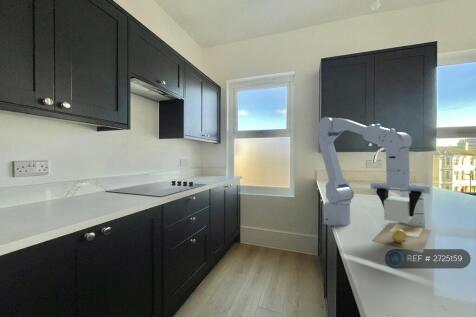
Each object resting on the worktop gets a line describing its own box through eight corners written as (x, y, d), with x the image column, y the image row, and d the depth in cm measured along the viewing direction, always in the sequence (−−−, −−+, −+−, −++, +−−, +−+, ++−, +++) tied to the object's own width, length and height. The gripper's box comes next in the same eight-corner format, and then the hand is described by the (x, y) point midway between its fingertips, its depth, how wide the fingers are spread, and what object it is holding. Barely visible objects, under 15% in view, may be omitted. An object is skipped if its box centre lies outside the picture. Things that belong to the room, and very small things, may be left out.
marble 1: (393, 238, 65) (393, 229, 65) (395, 236, 67) (395, 227, 67) (405, 241, 63) (405, 231, 63) (407, 238, 65) (407, 229, 65)
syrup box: (425, 227, 77) (424, 189, 77) (408, 226, 79) (407, 189, 78) (416, 222, 83) (415, 186, 83) (399, 221, 84) (398, 186, 84)
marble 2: (390, 242, 63) (390, 232, 63) (393, 239, 65) (392, 230, 65) (403, 245, 61) (403, 235, 60) (405, 242, 63) (404, 232, 63)
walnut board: (371, 243, 64) (371, 240, 64) (389, 225, 80) (389, 222, 80) (422, 256, 55) (422, 252, 55) (431, 232, 72) (431, 229, 72)
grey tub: (384, 219, 63) (383, 200, 63) (391, 213, 69) (390, 196, 69) (407, 223, 59) (407, 203, 59) (412, 216, 65) (412, 198, 65)
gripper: (367, 170, 66) (368, 212, 67) (427, 172, 56) (428, 221, 56) (373, 169, 71) (374, 208, 71) (430, 170, 60) (431, 216, 61)
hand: (398, 213), depth 64 cm, fingers closed on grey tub, 6 cm apart
